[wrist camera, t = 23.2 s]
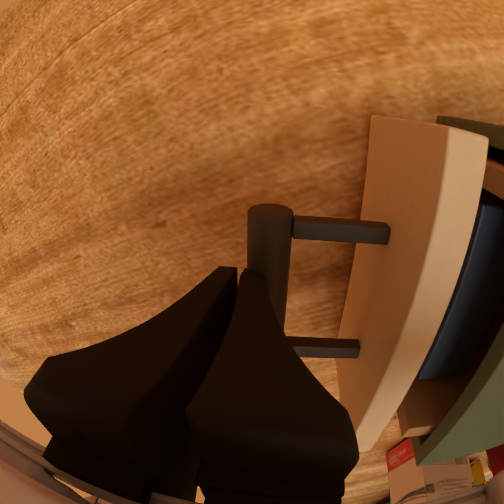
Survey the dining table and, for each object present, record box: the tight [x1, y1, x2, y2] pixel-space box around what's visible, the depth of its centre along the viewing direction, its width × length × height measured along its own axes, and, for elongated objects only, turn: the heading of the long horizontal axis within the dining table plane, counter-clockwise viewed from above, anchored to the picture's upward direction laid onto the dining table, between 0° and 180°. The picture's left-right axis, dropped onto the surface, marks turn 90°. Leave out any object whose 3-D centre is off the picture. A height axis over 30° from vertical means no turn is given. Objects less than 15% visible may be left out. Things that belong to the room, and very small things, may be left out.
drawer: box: [247, 115, 504, 452], centre depth 10 cm, size 18×12×7 cm
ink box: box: [386, 437, 475, 504], centre depth 18 cm, size 9×5×12 cm, turn 68°
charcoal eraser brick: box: [417, 188, 504, 379], centre depth 11 cm, size 3×8×3 cm, turn 179°
